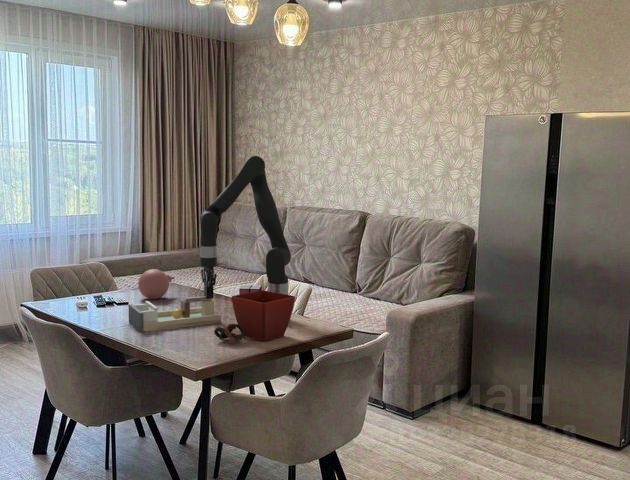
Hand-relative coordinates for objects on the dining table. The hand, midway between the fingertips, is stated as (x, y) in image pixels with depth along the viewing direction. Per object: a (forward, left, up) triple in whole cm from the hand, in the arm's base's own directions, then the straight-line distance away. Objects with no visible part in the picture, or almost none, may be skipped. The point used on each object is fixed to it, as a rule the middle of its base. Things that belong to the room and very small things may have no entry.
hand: (208, 293), depth 286 cm
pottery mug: (-38, +6, -12) cm, 41 cm away
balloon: (+52, +8, -12) cm, 54 cm away
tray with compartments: (0, +15, -12) cm, 19 cm away
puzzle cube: (+14, -27, -12) cm, 33 cm away
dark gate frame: (0, +5, -10) cm, 11 cm away
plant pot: (-37, -9, -12) cm, 40 cm away
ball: (0, +15, -8) cm, 17 cm away
